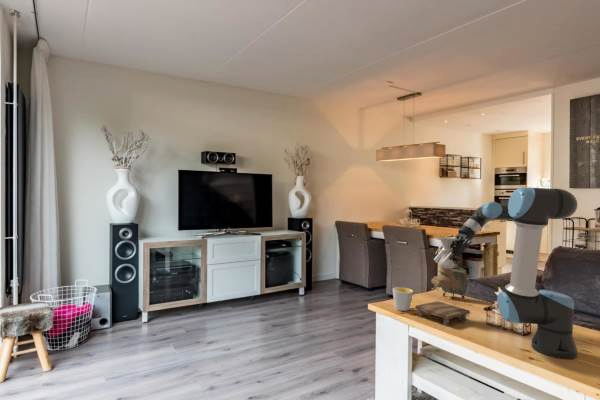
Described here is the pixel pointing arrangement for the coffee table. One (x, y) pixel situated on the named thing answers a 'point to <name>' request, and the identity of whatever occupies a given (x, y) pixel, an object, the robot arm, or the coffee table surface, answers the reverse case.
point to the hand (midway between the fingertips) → (439, 262)
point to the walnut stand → (442, 311)
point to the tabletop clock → (462, 280)
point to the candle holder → (445, 277)
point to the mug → (402, 298)
